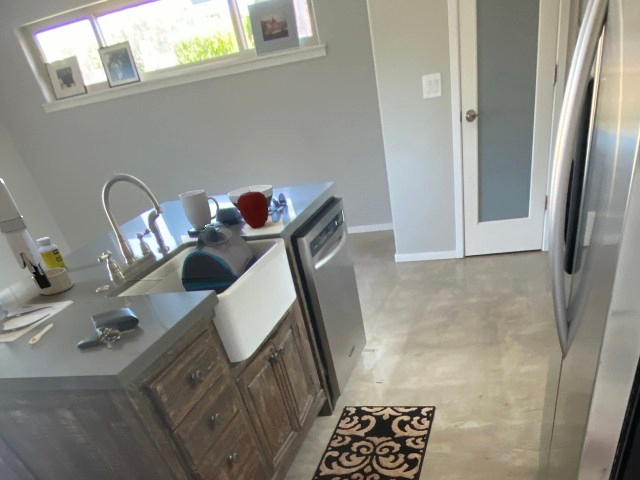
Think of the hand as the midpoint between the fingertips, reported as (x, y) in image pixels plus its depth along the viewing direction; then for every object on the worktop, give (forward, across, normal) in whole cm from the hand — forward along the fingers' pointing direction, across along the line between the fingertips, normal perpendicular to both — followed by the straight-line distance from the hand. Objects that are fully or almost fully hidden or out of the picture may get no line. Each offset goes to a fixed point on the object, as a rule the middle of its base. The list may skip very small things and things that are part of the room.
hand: (46, 287), depth 169 cm
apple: (+4, -40, +75) cm, 85 cm away
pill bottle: (+4, -35, -3) cm, 36 cm away
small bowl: (+4, -10, 0) cm, 11 cm away
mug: (+4, -61, +54) cm, 82 cm away
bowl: (+4, -64, +77) cm, 100 cm away
